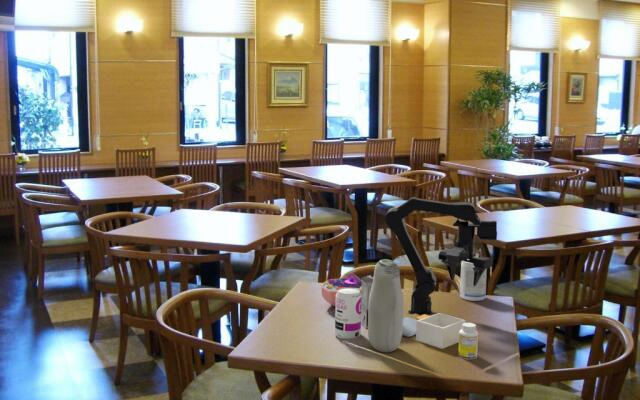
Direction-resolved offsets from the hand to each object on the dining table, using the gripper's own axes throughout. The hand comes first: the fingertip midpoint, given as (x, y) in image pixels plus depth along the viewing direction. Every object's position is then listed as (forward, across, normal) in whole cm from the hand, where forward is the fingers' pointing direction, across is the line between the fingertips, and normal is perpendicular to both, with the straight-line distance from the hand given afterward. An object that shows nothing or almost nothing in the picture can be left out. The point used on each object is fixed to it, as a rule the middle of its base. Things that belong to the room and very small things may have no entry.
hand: (463, 283), depth 251 cm
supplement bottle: (+12, +24, -32) cm, 42 cm away
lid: (+12, -3, -25) cm, 28 cm away
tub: (+12, +10, -27) cm, 31 cm away
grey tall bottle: (+12, +3, -46) cm, 48 cm away
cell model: (+12, -35, -22) cm, 43 cm away
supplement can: (+12, -13, -45) cm, 48 cm away
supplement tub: (+12, -10, +22) cm, 27 cm away
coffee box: (+12, -14, -30) cm, 35 cm away
